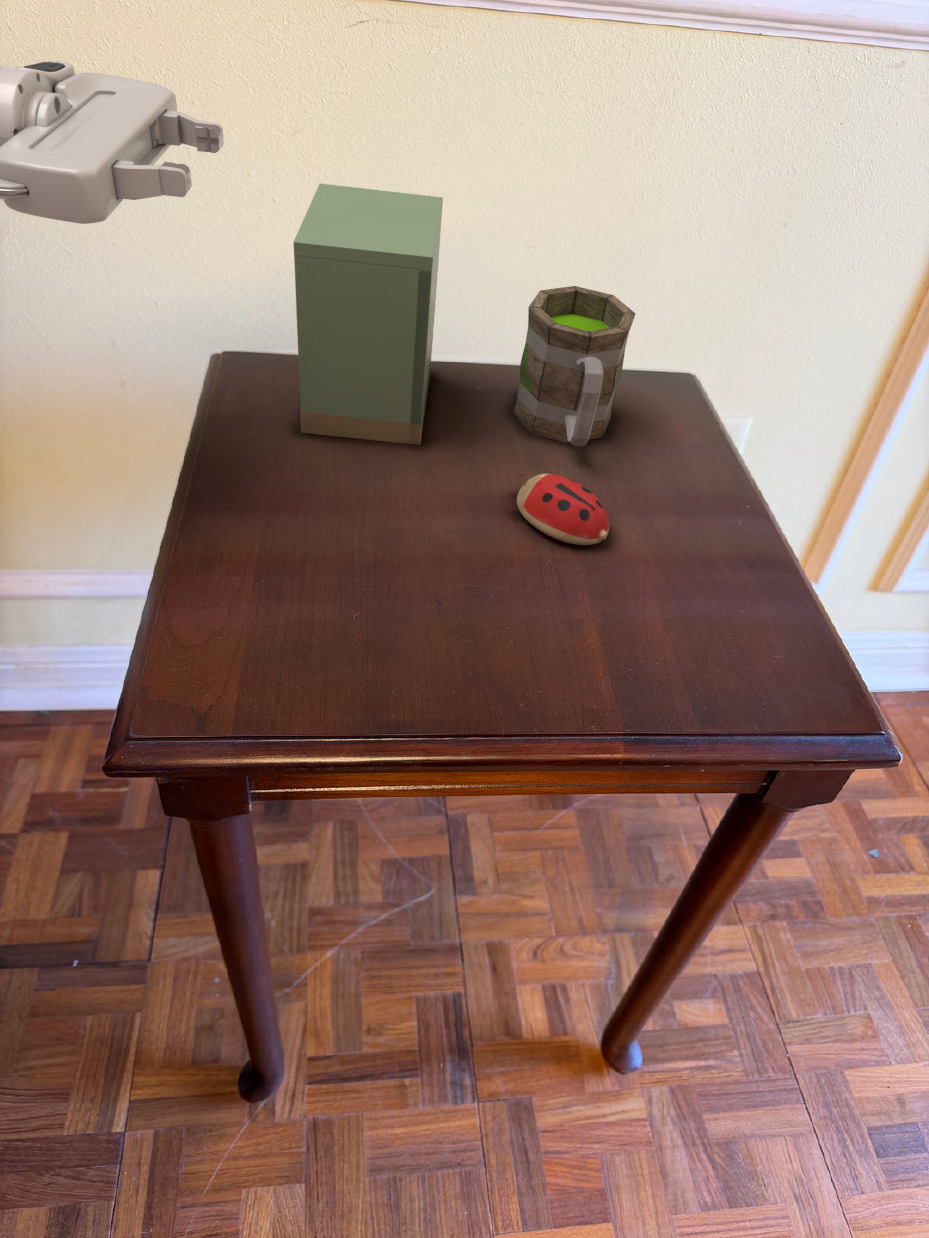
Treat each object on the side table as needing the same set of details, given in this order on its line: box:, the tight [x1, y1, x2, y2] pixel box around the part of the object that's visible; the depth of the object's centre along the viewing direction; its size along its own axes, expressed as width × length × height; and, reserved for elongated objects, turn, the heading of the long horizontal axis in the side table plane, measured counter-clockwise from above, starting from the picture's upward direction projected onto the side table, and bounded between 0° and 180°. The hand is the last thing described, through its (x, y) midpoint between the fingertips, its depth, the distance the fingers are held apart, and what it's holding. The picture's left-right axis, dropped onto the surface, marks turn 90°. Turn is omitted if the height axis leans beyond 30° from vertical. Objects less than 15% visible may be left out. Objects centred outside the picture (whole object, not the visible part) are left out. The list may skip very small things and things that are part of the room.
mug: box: [512, 285, 636, 447], centre depth 91 cm, size 16×11×12 cm
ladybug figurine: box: [516, 473, 610, 546], centre depth 82 cm, size 7×10×4 cm
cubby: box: [293, 183, 444, 446], centre depth 88 cm, size 12×14×19 cm
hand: (205, 159), depth 67 cm, fingers open, 8 cm apart
